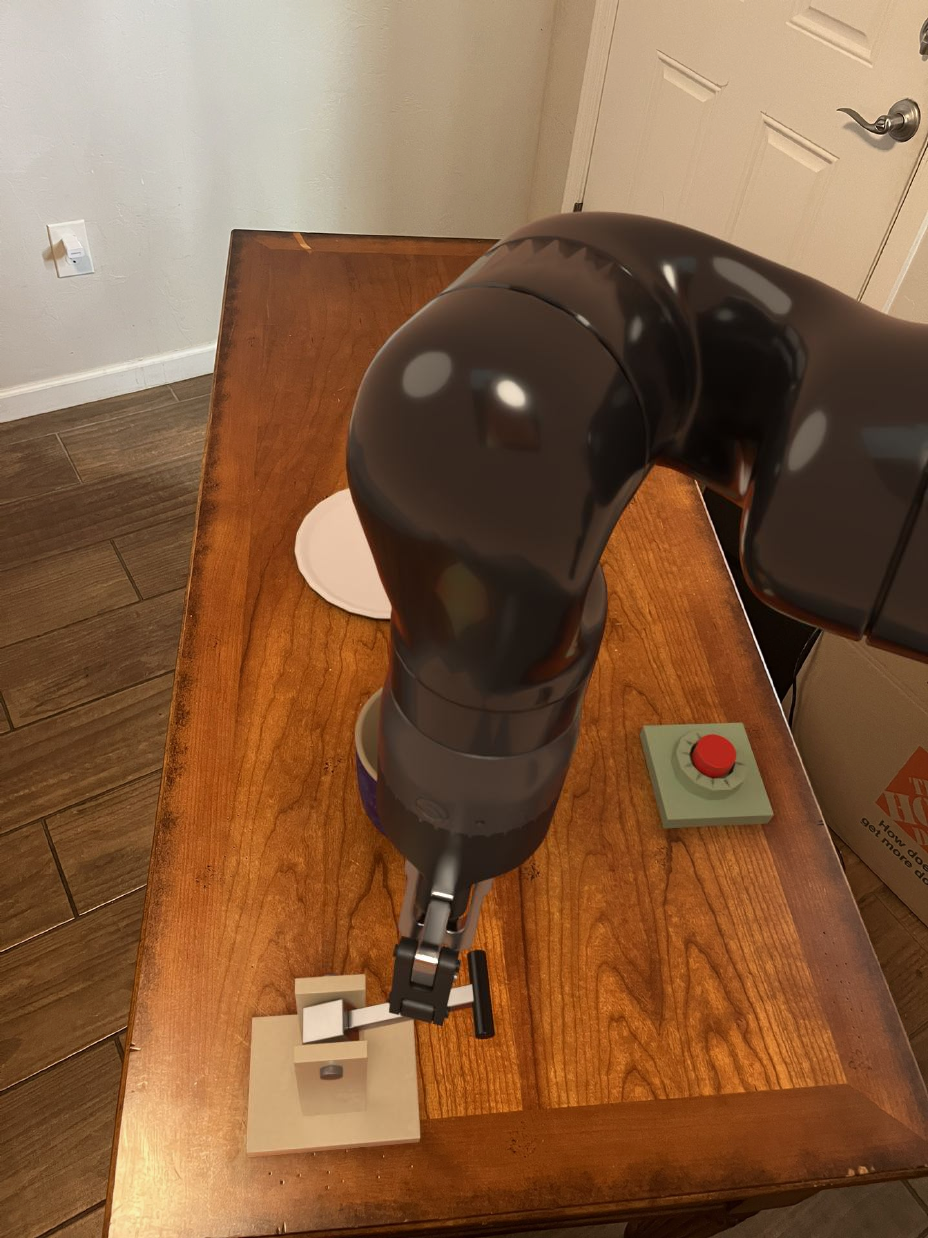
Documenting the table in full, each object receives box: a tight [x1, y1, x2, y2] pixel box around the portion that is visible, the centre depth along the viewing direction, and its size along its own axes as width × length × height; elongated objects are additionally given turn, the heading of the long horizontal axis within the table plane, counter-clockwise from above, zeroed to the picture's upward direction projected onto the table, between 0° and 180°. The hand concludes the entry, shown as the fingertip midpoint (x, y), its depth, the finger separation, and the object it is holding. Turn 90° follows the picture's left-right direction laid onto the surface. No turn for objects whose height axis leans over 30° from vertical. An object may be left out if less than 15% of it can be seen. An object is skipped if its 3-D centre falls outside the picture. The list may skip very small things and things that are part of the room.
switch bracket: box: [245, 973, 421, 1158], centre depth 63 cm, size 12×9×15 cm
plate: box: [294, 487, 391, 621], centre depth 103 cm, size 21×21×1 cm
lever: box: [302, 949, 496, 1045], centre depth 58 cm, size 12×5×2 cm, turn 95°
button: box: [692, 734, 736, 778], centre depth 86 cm, size 4×4×2 cm
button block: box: [639, 722, 775, 829], centre depth 87 cm, size 10×10×4 cm
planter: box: [354, 686, 388, 838], centre depth 80 cm, size 12×12×11 cm
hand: (444, 912), depth 49 cm, fingers open, 8 cm apart
